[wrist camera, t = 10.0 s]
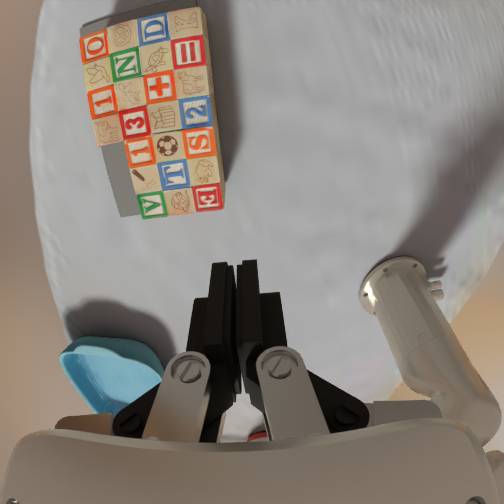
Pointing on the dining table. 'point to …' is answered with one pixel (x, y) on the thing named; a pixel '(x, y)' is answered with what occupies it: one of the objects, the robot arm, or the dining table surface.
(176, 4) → the mat
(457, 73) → the dining table surface
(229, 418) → the dining table surface
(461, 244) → the dining table surface
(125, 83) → the stack of blocks
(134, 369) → the casserole dish
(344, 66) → the dining table surface
